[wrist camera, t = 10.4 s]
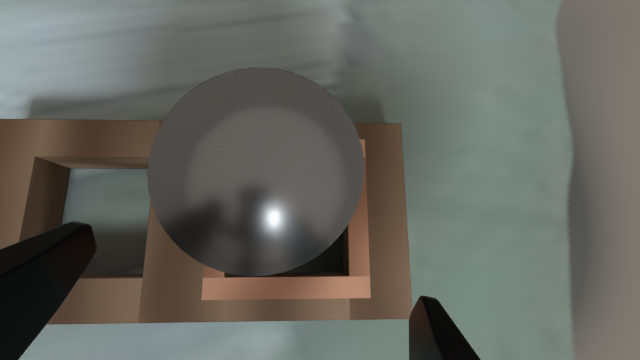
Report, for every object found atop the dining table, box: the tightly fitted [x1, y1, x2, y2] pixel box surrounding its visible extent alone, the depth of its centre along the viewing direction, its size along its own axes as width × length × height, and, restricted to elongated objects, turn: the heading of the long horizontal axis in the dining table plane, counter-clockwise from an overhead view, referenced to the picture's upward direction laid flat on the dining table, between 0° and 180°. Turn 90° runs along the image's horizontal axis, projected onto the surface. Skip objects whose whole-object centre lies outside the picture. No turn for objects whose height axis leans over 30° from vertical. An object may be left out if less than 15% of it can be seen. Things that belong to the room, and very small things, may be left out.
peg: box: [148, 68, 364, 276], centre depth 12 cm, size 4×4×13 cm
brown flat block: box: [0, 119, 412, 324], centre depth 17 cm, size 22×10×3 cm, turn 90°
